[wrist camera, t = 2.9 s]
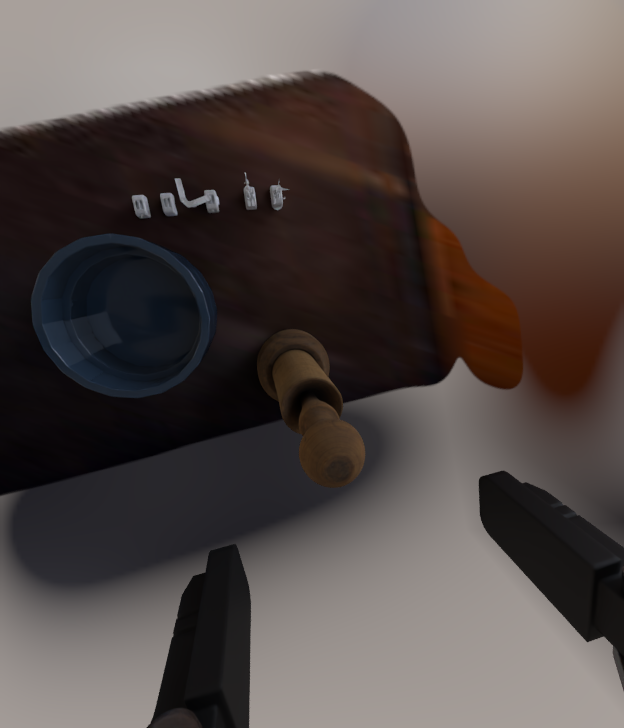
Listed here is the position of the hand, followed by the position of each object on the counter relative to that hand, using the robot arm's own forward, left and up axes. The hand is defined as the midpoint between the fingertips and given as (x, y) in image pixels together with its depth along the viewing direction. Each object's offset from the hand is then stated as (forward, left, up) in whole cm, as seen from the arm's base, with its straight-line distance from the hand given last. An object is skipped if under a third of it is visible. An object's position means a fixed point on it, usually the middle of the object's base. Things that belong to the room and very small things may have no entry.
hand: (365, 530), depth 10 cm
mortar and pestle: (0, 0, -22) cm, 22 cm away
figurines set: (-3, +15, -22) cm, 27 cm away
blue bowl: (-11, +7, -22) cm, 25 cm away
